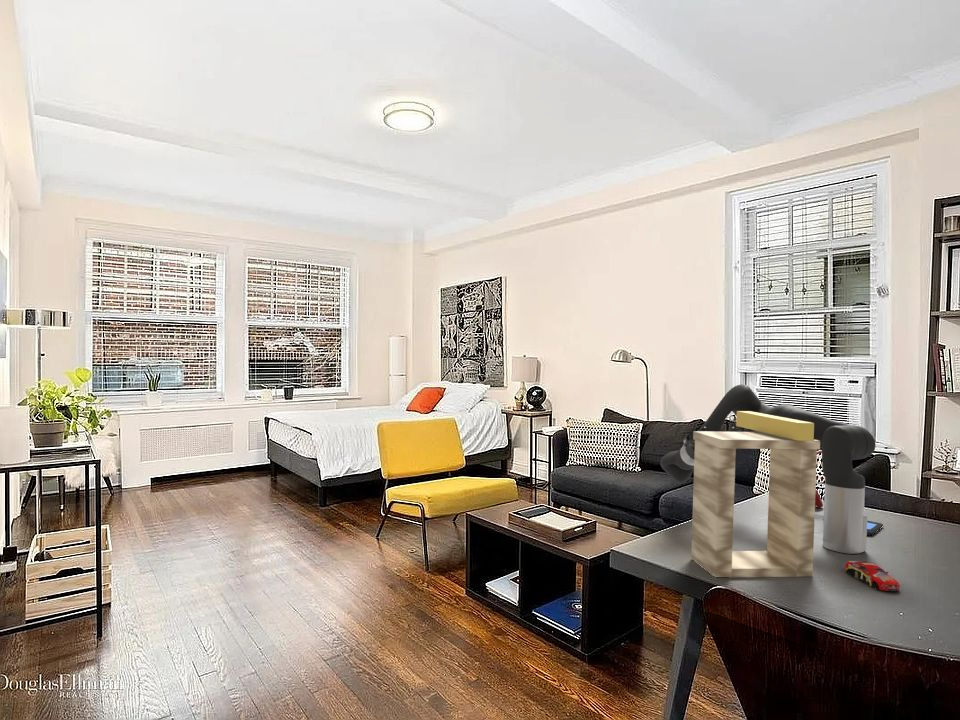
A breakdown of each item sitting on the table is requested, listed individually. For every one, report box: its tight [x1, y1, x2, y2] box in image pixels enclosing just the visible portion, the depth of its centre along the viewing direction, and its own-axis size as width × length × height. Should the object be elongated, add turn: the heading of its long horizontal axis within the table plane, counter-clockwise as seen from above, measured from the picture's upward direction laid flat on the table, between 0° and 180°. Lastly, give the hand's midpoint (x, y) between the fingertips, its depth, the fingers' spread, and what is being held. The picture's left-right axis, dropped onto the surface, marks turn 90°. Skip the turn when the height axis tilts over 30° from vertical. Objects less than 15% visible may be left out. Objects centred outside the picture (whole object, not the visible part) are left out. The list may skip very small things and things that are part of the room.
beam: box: [735, 411, 814, 441], centre depth 149 cm, size 4×26×4 cm, turn 6°
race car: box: [844, 560, 901, 592], centre depth 138 cm, size 13×5×4 cm, turn 4°
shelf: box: [690, 430, 821, 578], centre depth 145 cm, size 24×14×32 cm, turn 96°
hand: (720, 430), depth 172 cm, fingers open, 8 cm apart
